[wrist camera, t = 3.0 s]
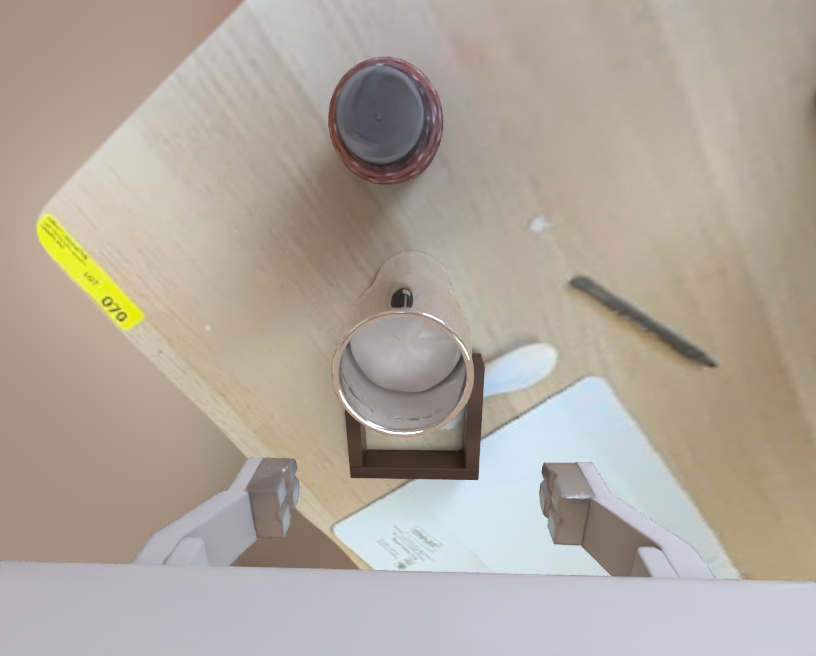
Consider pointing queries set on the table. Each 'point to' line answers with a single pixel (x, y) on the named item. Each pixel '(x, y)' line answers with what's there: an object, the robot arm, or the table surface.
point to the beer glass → (405, 350)
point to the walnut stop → (423, 462)
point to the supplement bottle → (385, 120)
